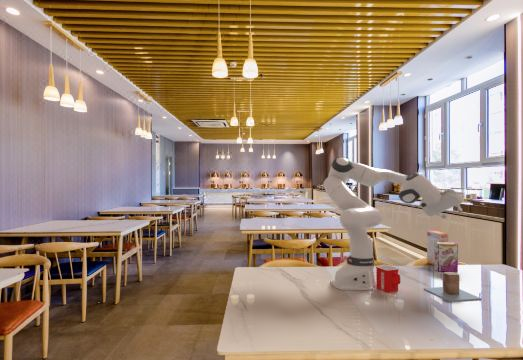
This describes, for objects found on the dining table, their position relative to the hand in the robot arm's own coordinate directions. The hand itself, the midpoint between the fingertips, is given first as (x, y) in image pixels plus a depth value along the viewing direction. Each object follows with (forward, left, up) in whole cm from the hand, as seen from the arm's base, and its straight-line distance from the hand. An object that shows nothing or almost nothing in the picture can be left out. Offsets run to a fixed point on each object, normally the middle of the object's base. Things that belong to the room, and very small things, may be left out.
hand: (453, 214), depth 163 cm
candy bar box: (+9, +16, -35) cm, 40 cm away
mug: (-42, -9, -35) cm, 55 cm away
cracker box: (+13, +28, -35) cm, 47 cm away
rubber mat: (-17, -18, -35) cm, 43 cm away
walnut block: (-17, -18, -34) cm, 42 cm away
